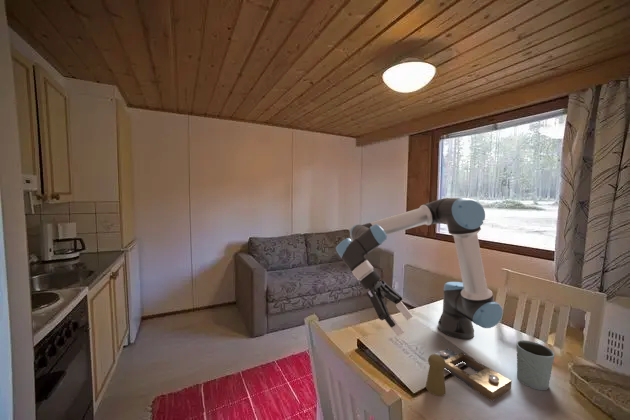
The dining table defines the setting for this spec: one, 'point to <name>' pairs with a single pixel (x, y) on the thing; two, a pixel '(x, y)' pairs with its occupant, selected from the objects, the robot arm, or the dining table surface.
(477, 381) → the slotted wooden plate
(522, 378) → the grey green cup
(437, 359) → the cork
